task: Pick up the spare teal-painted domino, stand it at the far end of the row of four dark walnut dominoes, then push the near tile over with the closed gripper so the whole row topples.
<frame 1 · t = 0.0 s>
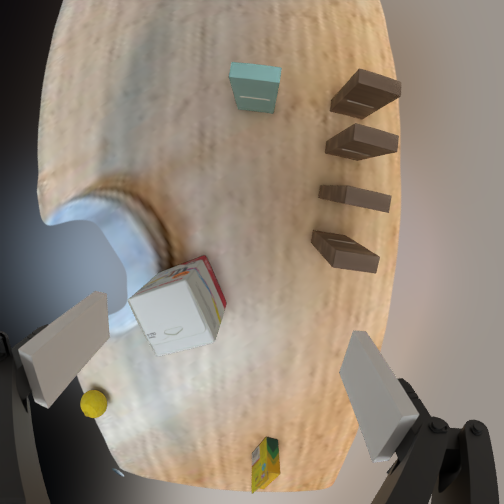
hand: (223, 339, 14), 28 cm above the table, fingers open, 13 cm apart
ink box: (191, 288, 43), on the table
domino 1: (346, 109, 37), on the table
crayon box: (264, 446, 51), on the table
domino 4: (328, 239, 41), on the table
domino 3: (336, 194, 40), on the table
domino 2: (342, 150, 38), on the table
fruit: (101, 392, 50), on the table
domino 5: (256, 105, 37), on the table
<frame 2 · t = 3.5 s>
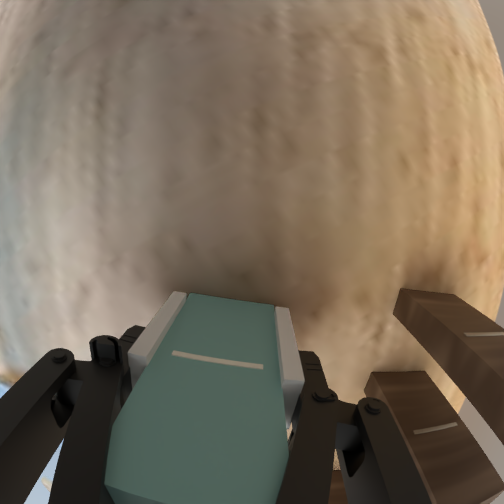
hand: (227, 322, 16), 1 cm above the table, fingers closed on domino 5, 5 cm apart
domino 1: (425, 304, 17), on the table
domino 4: (342, 474, 21), on the table
domino 2: (395, 381, 18), on the table
domino 5: (230, 312, 17), on the table, touching gripper
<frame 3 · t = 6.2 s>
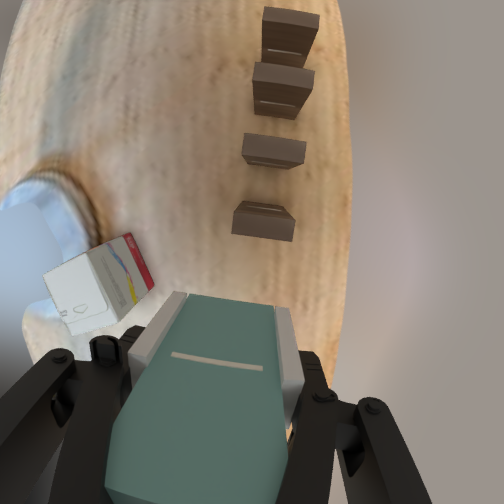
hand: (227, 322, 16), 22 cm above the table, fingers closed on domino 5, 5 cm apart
ink box: (120, 268, 39), on the table
domino 1: (281, 66, 31), on the table
domino 4: (261, 210, 36), on the table
domino 3: (268, 159, 34), on the table
domino 2: (275, 110, 33), on the table
domino 5: (229, 313, 17), point 21 cm above the table, touching gripper
when the fingers open (2 cm above the table, at t = 9.0 s): domino 5 stays where it is, on the table.
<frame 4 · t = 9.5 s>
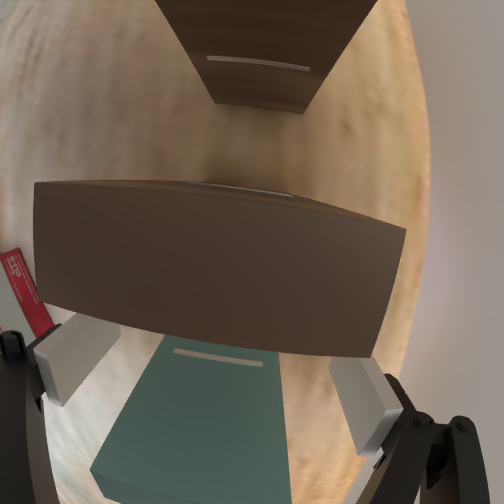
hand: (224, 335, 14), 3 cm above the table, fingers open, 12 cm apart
ink box: (16, 305, 18), on the table
domino 4: (244, 203, 16), on the table
domino 3: (260, 93, 15), on the table
domino 5: (230, 311, 17), on the table
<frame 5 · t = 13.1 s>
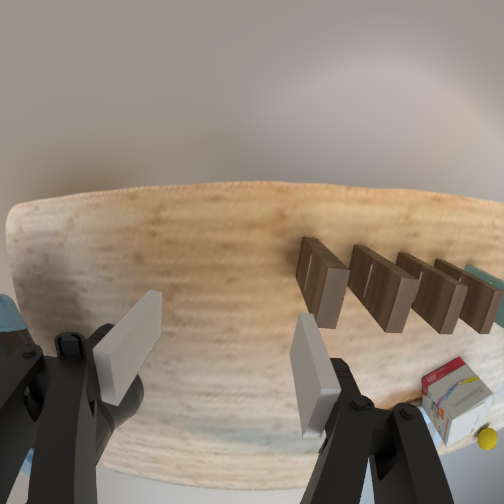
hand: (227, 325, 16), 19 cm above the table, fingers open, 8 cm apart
ink box: (440, 382, 39), on the table
domino 1: (306, 258, 34), on the table
domino 4: (435, 277, 34), on the table
domino 3: (399, 271, 34), on the table
domino 2: (356, 265, 34), on the table
fruit: (480, 429, 43), on the table
domino 5: (465, 281, 34), on the table
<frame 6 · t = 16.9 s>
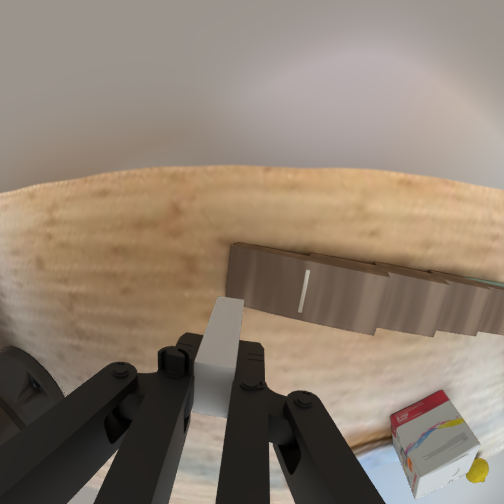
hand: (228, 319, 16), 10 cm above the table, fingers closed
ink box: (416, 418, 31), on the table
domino 1: (231, 271, 25), point 1 cm above the table, tilted 73°
domino 4: (425, 295, 25), point 1 cm above the table, tilted 73°, touching domino 3, domino 5
domino 3: (369, 289, 25), point 1 cm above the table, tilted 73°, touching domino 2, domino 4
domino 2: (305, 281, 25), point 1 cm above the table, tilted 73°, touching domino 3
fruit: (470, 459, 35), on the table
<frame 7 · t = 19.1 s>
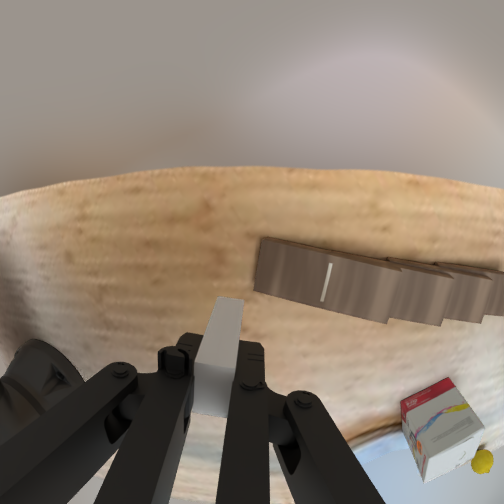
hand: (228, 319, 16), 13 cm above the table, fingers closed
ink box: (424, 405, 33), on the table
domino 1: (260, 263, 28), point 1 cm above the table, tilted 73°, touching domino 2
domino 4: (432, 285, 27), point 1 cm above the table, tilted 74°, touching domino 3, domino 5
domino 3: (383, 282, 27), point 1 cm above the table, tilted 73°, touching domino 2, domino 4
domino 2: (326, 276, 28), point 1 cm above the table, tilted 73°, touching domino 1, domino 3
fruit: (475, 450, 37), on the table
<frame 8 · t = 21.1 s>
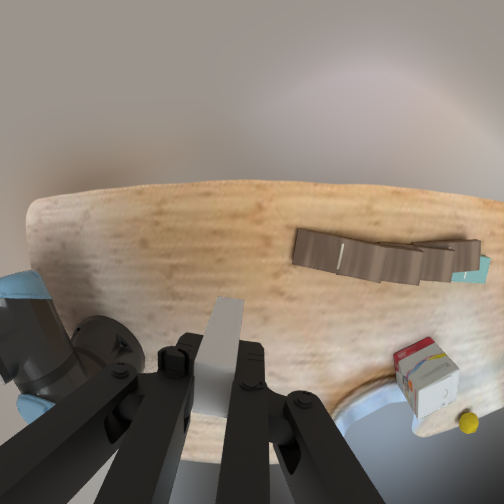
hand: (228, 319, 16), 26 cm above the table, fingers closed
ink box: (412, 360, 47), on the table
domino 1: (296, 245, 41), point 1 cm above the table, tilted 73°, touching domino 2
domino 4: (413, 259, 41), point 1 cm above the table, tilted 76°, touching domino 3
domino 3: (377, 259, 41), point 1 cm above the table, tilted 73°, touching domino 2, domino 4
domino 2: (338, 256, 41), point 1 cm above the table, tilted 73°, touching domino 1, domino 3
fruit: (462, 413, 51), on the table
domino 5: (438, 264, 41), point 1 cm above the table, tilted 89°
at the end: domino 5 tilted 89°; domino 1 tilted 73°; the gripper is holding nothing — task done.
